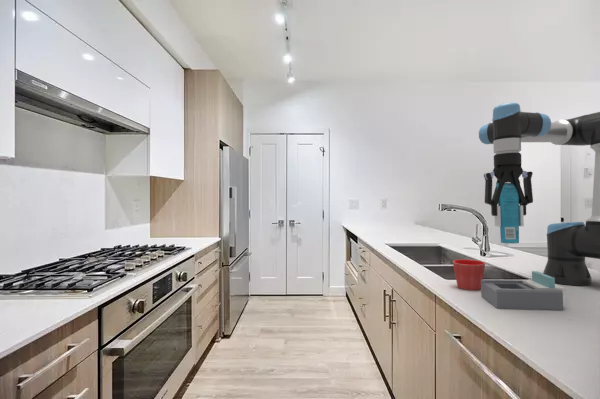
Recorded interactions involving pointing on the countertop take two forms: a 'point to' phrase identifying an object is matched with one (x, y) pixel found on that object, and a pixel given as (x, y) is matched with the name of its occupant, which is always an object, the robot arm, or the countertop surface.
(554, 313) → the countertop surface
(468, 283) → the flower pot
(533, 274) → the panel
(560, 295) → the socket
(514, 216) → the tube
